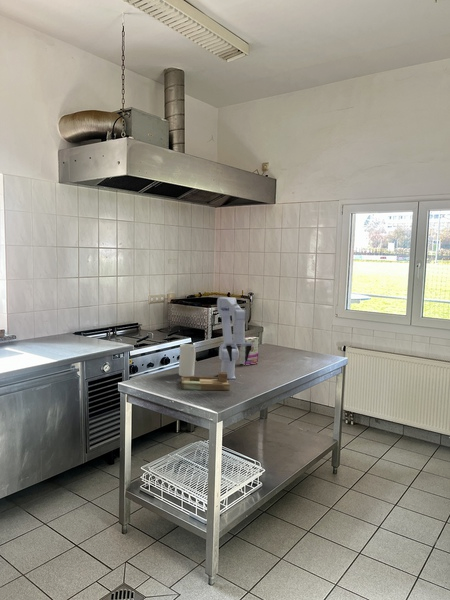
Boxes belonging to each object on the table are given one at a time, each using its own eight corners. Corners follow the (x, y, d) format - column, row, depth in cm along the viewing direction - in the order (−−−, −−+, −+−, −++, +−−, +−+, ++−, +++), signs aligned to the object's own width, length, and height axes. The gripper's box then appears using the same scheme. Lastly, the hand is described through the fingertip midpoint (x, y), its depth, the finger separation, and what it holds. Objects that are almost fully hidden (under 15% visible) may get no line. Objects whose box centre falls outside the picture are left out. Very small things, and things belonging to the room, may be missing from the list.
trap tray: (181, 381, 224) (181, 376, 224) (226, 382, 227) (226, 377, 227) (181, 389, 211) (182, 383, 211) (229, 390, 214) (229, 384, 214)
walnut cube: (218, 379, 225) (218, 371, 224) (225, 379, 225) (226, 371, 225) (218, 381, 221) (219, 373, 221) (226, 381, 221) (227, 374, 221)
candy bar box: (252, 362, 277) (253, 336, 275) (257, 364, 273) (259, 337, 271) (239, 364, 269) (240, 337, 268) (244, 366, 266) (246, 339, 264)
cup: (196, 374, 240) (198, 345, 239) (188, 377, 233) (189, 347, 232) (184, 371, 244) (186, 343, 243) (175, 374, 237) (177, 345, 236)
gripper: (225, 333, 215) (225, 361, 214) (254, 333, 217) (254, 361, 216) (223, 333, 222) (223, 360, 221) (252, 333, 224) (251, 360, 223)
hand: (238, 361), depth 219 cm, fingers open, 7 cm apart
